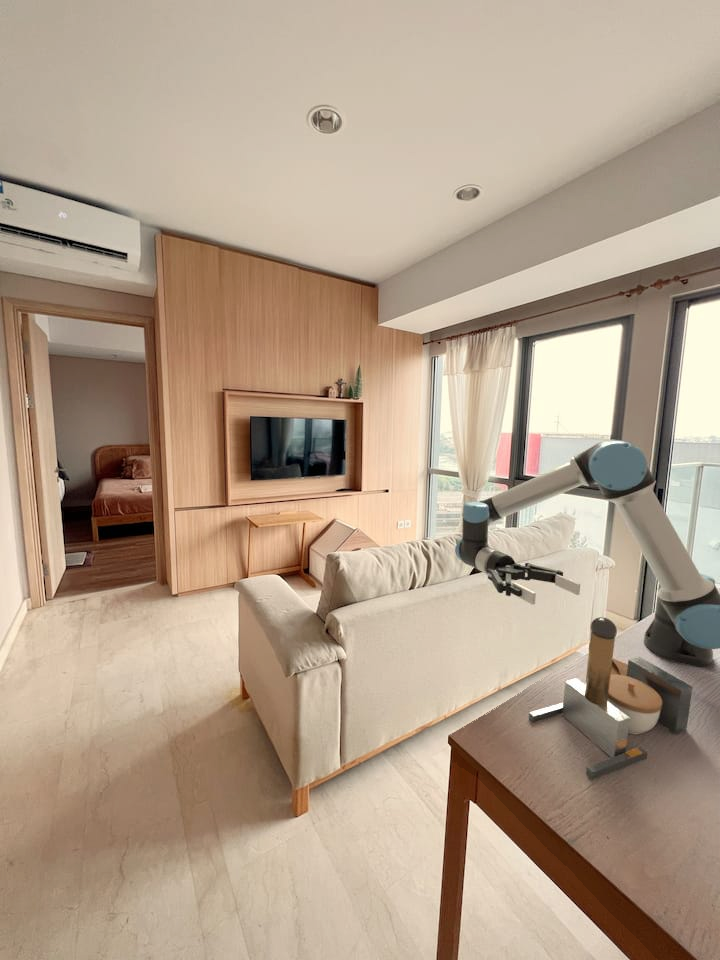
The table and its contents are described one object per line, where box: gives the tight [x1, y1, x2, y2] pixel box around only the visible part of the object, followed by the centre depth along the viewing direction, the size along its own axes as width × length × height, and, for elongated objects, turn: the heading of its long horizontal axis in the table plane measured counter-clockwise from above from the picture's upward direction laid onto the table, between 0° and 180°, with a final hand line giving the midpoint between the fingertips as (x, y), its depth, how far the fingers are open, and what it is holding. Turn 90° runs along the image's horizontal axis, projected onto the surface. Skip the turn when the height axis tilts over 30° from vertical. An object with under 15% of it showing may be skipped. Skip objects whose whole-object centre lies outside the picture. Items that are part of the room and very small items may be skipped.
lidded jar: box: [608, 675, 662, 735], centre depth 83 cm, size 11×11×9 cm
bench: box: [528, 656, 694, 781], centre depth 81 cm, size 29×15×10 cm, turn 109°
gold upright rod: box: [561, 616, 630, 758], centre depth 78 cm, size 4×12×25 cm, turn 20°
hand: (557, 594), depth 91 cm, fingers open, 13 cm apart
